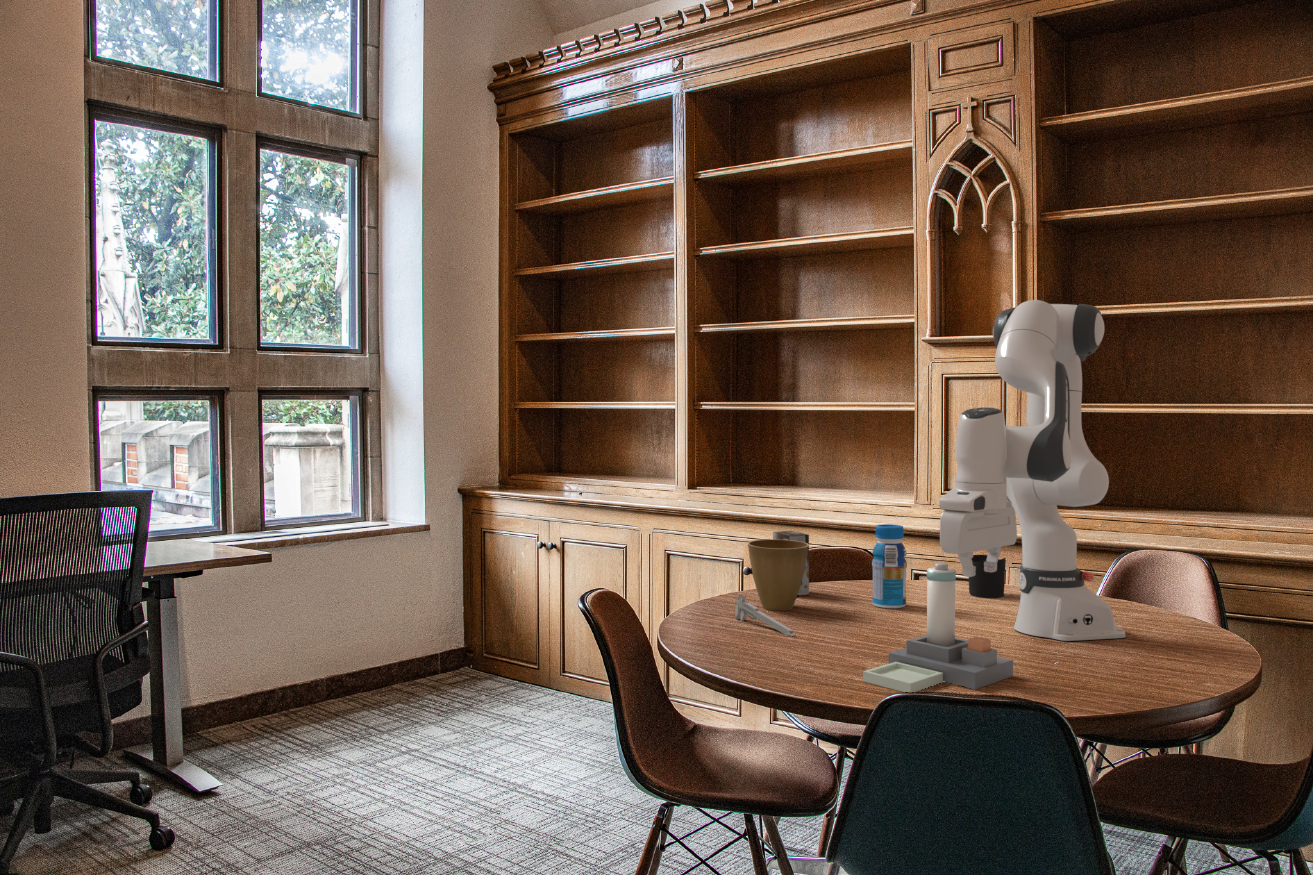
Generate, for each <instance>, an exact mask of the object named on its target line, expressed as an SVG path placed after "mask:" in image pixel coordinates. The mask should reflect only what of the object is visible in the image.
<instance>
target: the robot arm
mask: <svg viewBox="0 0 1313 875" xmlns="http://www.w3.org/2000/svg"><path fill="white" fill-rule="evenodd" d="M1104 335H1105V322H1104V319H1103V315H1102V313H1101V311H1100V310H1099V308H1098V307H1097V306H1094V305H1091V304H1086V303H1079V304H1078V305H1077V304H1068V303H1066V304H1065V303H1064V304H1063V303H1048V302H1046V301H1043V300H1041V299H1040V300H1039V299H1033V300H1032V299H1030V300H1027V301H1024V302H1021V303H1019V304H1018V305H1017V306H1016V307H1010V308H1007V309H1004V310H1002V311H1000V313H999V314H997V316H996V317H995V320H994V324H993V327H992V339H993V342H994V345H995V348H996V351H995V356H994V357H995V358H994V365H995V369H996V371H997V373H998V375H999V377H1000V378H1001V379H1002V380H1003V381H1004V382H1005V383H1007V384H1008V385H1009V386H1010V387H1013V388H1014V389H1016V390H1018V391H1022V392H1025V393H1027V394H1026V395H1027V396H1026V397H1027V399H1026V416H1025V417H1026V418H1025V423H1026V425H1027V426H1024V425H1023V426H1015V425H1014V426H1012V425H1006V419H1005V414H1004V411H1003V410H1001V409H1000V408H995V407H976V408H974V407H973V408H969V409H965V410H964V411H963V412H961V413H960V415H959V418H958V423H957V428H956V436H955V461H956V464H957V472H956V476H955V477H954V478H955V479H954V481H955V482H954V484H955V485H954V487H953V488H951V489H950V490H949V491H948V492H946V494H944V495H942V496H941V497H940V498H939V500H938V501H939V503H938V504H939V509H940V510H943V511H942V512H941V514H940V517H939V518H940V519H939V544H940V548H941V550H942V552H943V553H945V554H952V555H958V560H959V562H960V564H961V566H962V569H961V571H962V576H963V577H968V578H969V577H972V576H975V575H976V572H975V571H976V567H975V566H973V563H972V559H971V558H973V555H974V552H980V551H986V552H987V554H986V555H987V560H986V562H984V571H985V572H995V571H997V562H998V559H1000V555H1001V553H1002V547H1007V546H1012V545H1015V544H1016V542H1017V539H1018V530H1017V529H1018V528H1017V520H1018V524H1019V528H1020V532H1021V550H1022V551H1021V553H1022V554H1021V555H1022V558H1021V560H1022V561H1021V562H1022V563H1021V565H1020V566H1019V567H1020V568H1019V579H1018V580H1019V582H1018V583H1019V591H1020V598H1019V599H1020V600H1019V605H1018V611H1017V615H1016V618H1015V619H1016V620H1015V623H1014V626H1013V630H1015V631H1016V632H1019V633H1021V634H1025V635H1029V636H1035V637H1042V638H1047V639H1054V640H1058V641H1063V642H1071V641H1073V642H1074V641H1075V642H1076V641H1088V640H1089V641H1091V640H1093V641H1094V640H1107V639H1108V640H1109V639H1124V638H1126V630H1125V629H1123V628H1122V627H1121V626H1118V625H1116V624H1115V621H1114V615H1113V610H1112V607H1111V606H1110V605H1109V603H1107V602H1106V601H1105V600H1104V599H1102V598H1101V597H1100V596H1098V595H1097V594H1096V593H1095V592H1093V591H1092V590H1091V589H1089V588H1088V587H1087V586H1085V581H1086V582H1088V583H1091V582H1093V580H1095V576H1094V574H1093V573H1092V572H1090V571H1083V570H1081V569H1079V568H1078V567H1077V554H1078V553H1077V550H1078V548H1077V547H1078V545H1077V544H1078V542H1077V540H1078V539H1077V534H1076V531H1075V530H1074V528H1073V527H1072V526H1071V525H1069V524H1067V523H1066V522H1065V521H1064V519H1063V518H1062V517H1061V515H1060V512H1059V509H1058V506H1062V507H1072V508H1073V507H1074V508H1076V507H1077V508H1078V507H1086V506H1093V505H1097V504H1099V503H1100V502H1101V501H1102V500H1103V499H1104V498H1105V496H1106V494H1107V492H1108V490H1109V484H1110V478H1109V474H1108V471H1107V469H1106V468H1105V465H1104V464H1102V462H1101V461H1100V460H1098V459H1097V458H1096V457H1095V455H1094V454H1093V453H1092V452H1091V450H1090V448H1089V446H1088V444H1087V442H1086V440H1085V437H1084V436H1085V435H1084V432H1083V428H1082V426H1083V425H1082V424H1083V423H1082V401H1083V399H1082V398H1083V372H1082V362H1084V361H1086V359H1087V358H1088V356H1090V355H1092V354H1094V353H1095V352H1096V351H1097V350H1098V349H1099V347H1101V345H1102V341H1103V338H1104Z"/></svg>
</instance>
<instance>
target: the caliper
mask: <svg viewBox="0 0 1313 875" xmlns="http://www.w3.org/2000/svg"><path fill="white" fill-rule="evenodd" d="M746 598H747V597H746V596H744V594H739V595H738V598H736V601H735V609H734V612H735V613H734V615H735V620H737V621H738V620H739V622H745V621H746V619H747V617H749V618H751V619H752V620H756V619H758V620H759V621H761V622H763V623H764V624H766V625H768V626H770V627H771V628H773V629H775V630H776V631H778V632H780V633H781V634H783V635H785V636H788V635H790V636H789V637H792V636H794V637H797V635H796V633H795V632H793V629H792V628H790V627H789V626H787V625H785V624H783V623H781V622H779V621H778V620H776V619H774V618H773V617H771V616H769V615H767V614H766V613H765V612H762V611H760V610H759V608H758V607H757V606H755V605H753V604H752V603H750V602H749V601H746ZM744 620H745V621H744Z"/></svg>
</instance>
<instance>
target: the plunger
mask: <svg viewBox="0 0 1313 875" xmlns="http://www.w3.org/2000/svg"><path fill="white" fill-rule="evenodd" d="M967 640H968V649H969V650H974V651H978V652H986V651H989V650H991V648H992V647H991V645H992V639H990V638H984V637H980V636H974V637H970V638H968V639H967Z"/></svg>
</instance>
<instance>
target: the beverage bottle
mask: <svg viewBox="0 0 1313 875" xmlns="http://www.w3.org/2000/svg"><path fill="white" fill-rule="evenodd" d="M904 530H905V529H904V525H902V524H892V523H891V524H890V523H889V524H888V523H887V524H886V523H884V524H883V523H882V524H877V525H876V527H875V538H876V540H877V542H875V543H876V544H875V545H874V546H873V549H872V555H873V559H872V561H871V566H872V602H871V603H872V604H873V606H875V607H877V608H882V609H901V608H904V607H905V606H906V605H907V567H908V563H907V560H906V556H907V550H906V547H905V546H904V544H903V542H902V540H904V535H905V534H904Z"/></svg>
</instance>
